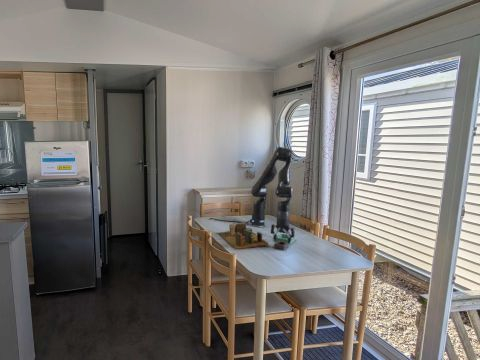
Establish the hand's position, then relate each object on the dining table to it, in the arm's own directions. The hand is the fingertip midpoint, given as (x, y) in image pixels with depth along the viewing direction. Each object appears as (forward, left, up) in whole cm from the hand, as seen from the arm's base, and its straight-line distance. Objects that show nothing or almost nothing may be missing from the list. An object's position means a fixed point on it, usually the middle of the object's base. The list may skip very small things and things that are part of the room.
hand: (282, 241), depth 193 cm
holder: (-2, +14, -4) cm, 15 cm away
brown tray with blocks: (-26, -4, -4) cm, 26 cm away
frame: (0, 0, -4) cm, 4 cm away
